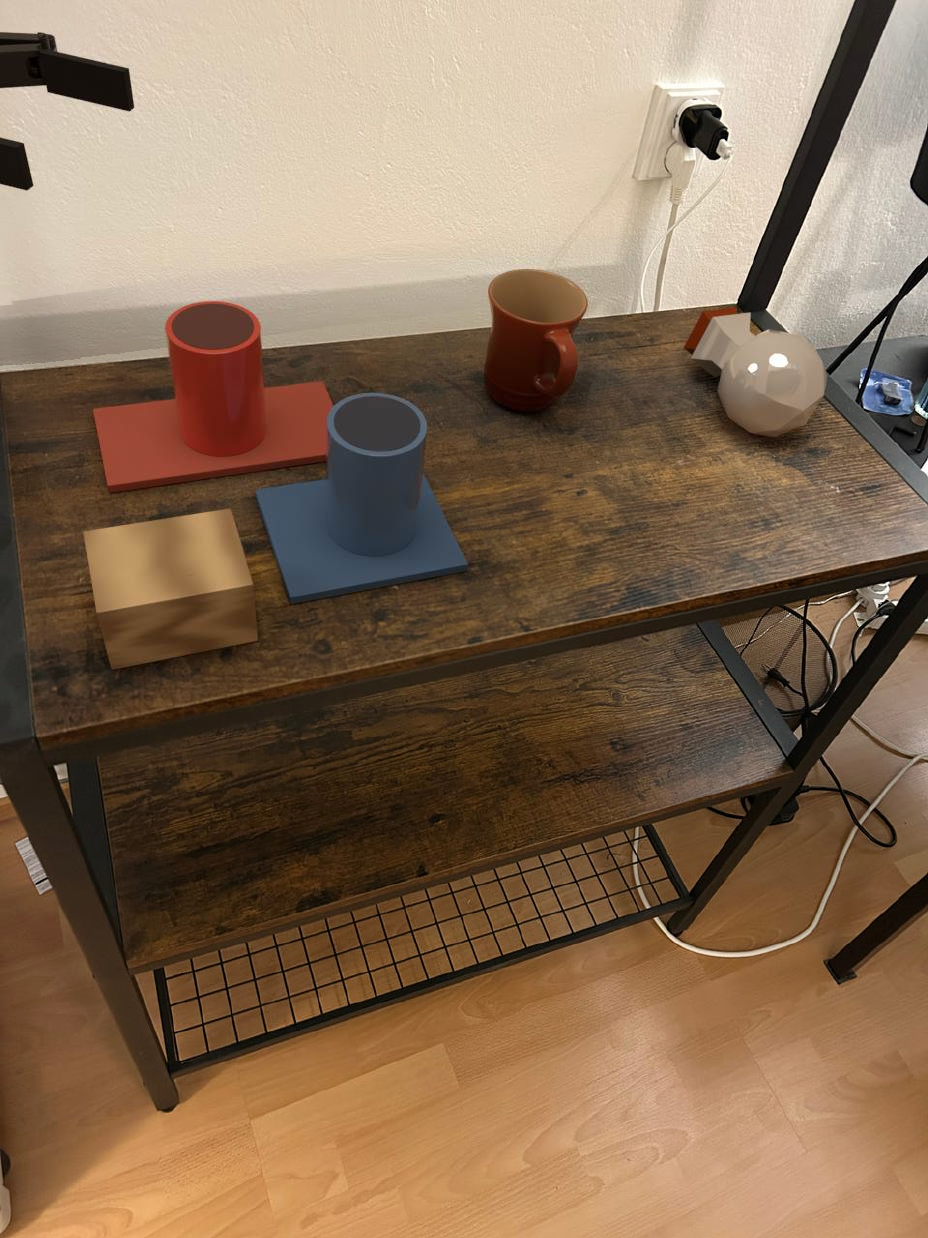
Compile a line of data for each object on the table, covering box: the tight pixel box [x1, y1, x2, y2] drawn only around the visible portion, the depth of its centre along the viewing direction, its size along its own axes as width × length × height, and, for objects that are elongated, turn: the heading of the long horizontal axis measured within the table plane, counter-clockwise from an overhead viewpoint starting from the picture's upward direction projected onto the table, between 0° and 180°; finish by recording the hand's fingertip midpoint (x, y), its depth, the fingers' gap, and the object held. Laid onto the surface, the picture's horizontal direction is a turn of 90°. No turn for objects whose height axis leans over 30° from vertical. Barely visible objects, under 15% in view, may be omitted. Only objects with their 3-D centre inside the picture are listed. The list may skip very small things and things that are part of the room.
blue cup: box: [325, 392, 428, 556], centre depth 73 cm, size 7×7×10 cm
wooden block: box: [82, 508, 259, 671], centre depth 67 cm, size 10×8×6 cm
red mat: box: [92, 380, 335, 494], centre depth 83 cm, size 20×10×1 cm, turn 110°
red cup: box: [164, 300, 266, 456], centre depth 79 cm, size 7×7×10 cm
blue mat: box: [254, 472, 469, 605], centre depth 77 cm, size 14×12×1 cm
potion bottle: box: [683, 306, 829, 438], centre depth 91 cm, size 9×10×15 cm
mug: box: [483, 268, 589, 412], centre depth 87 cm, size 12×9×10 cm
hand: (81, 126), depth 66 cm, fingers open, 13 cm apart
